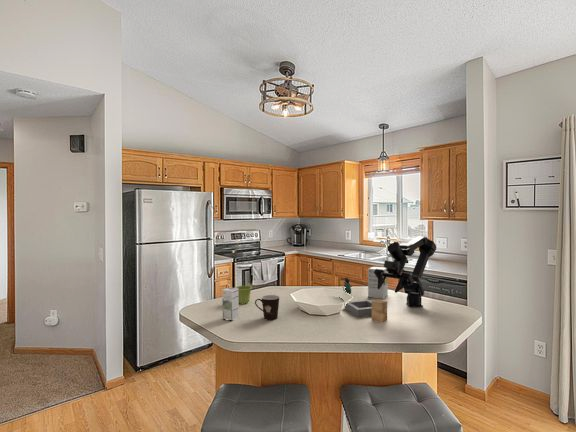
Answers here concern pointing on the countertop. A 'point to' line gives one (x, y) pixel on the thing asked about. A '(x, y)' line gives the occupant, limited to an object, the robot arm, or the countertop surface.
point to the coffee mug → (269, 306)
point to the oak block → (379, 310)
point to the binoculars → (347, 286)
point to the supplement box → (373, 284)
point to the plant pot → (244, 293)
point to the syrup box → (230, 303)
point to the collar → (360, 308)
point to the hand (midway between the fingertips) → (386, 290)
